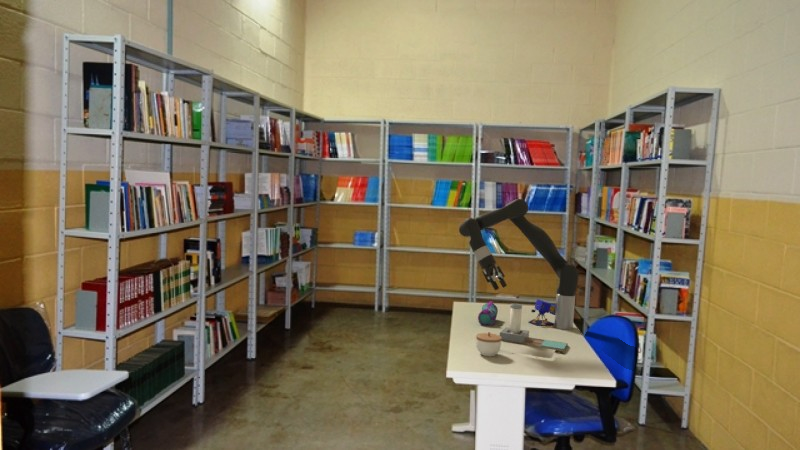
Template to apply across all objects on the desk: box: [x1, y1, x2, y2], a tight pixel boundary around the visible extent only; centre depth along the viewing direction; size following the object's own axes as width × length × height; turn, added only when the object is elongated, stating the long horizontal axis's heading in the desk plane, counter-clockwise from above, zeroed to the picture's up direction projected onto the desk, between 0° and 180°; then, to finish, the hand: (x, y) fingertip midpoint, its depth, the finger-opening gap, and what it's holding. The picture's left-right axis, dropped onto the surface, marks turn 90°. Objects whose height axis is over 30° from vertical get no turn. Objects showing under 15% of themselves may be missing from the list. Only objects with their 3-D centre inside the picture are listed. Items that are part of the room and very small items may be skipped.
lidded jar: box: [475, 332, 502, 357], centre depth 241 cm, size 11×11×9 cm
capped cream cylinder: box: [508, 303, 523, 334], centre depth 262 cm, size 5×5×16 cm
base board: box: [501, 336, 569, 354], centre depth 260 cm, size 14×30×1 cm, turn 65°
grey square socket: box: [499, 326, 530, 345], centre depth 263 cm, size 11×11×4 cm
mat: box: [541, 339, 567, 350], centre depth 255 cm, size 10×10×1 cm
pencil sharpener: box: [527, 299, 556, 329], centre depth 299 cm, size 14×18×13 cm
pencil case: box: [477, 300, 499, 326], centre depth 295 cm, size 21×9×10 cm, turn 167°
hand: (501, 288), depth 265 cm, fingers open, 8 cm apart
